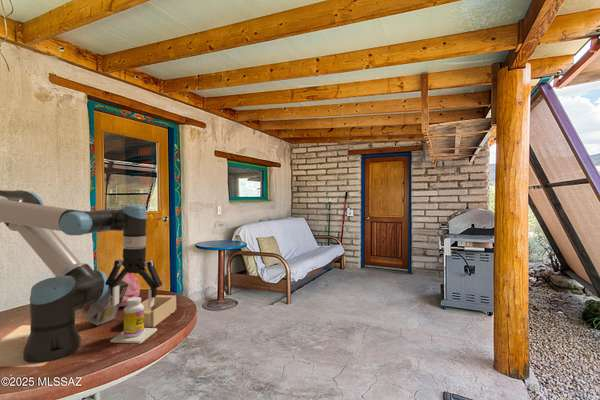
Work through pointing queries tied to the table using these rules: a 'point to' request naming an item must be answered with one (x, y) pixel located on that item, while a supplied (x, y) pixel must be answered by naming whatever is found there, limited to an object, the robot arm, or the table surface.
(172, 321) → the table surface
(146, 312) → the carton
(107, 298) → the coffee box
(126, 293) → the decorative rock
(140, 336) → the plate
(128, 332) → the supplement bottle
